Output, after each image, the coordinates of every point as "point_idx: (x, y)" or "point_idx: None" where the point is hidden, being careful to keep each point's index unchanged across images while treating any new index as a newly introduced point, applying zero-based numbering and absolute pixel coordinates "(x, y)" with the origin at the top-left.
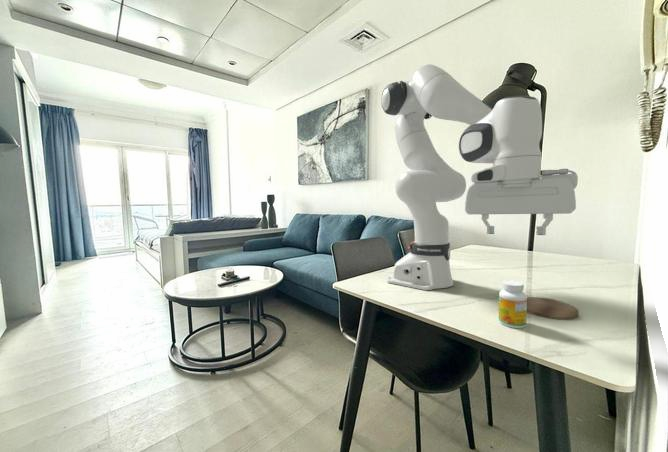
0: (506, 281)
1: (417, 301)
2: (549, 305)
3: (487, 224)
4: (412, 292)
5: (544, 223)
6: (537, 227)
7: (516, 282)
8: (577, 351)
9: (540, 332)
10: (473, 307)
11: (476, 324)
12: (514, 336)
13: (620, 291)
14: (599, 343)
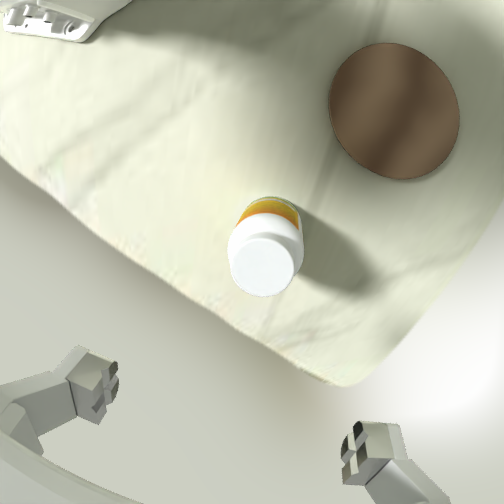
0: (244, 255)
1: (64, 136)
2: (405, 108)
3: (57, 420)
4: (52, 72)
5: (381, 500)
6: (343, 482)
7: (275, 262)
8: (347, 323)
9: (318, 261)
10: (193, 133)
11: (188, 247)
12: None
13: None
14: (404, 286)
